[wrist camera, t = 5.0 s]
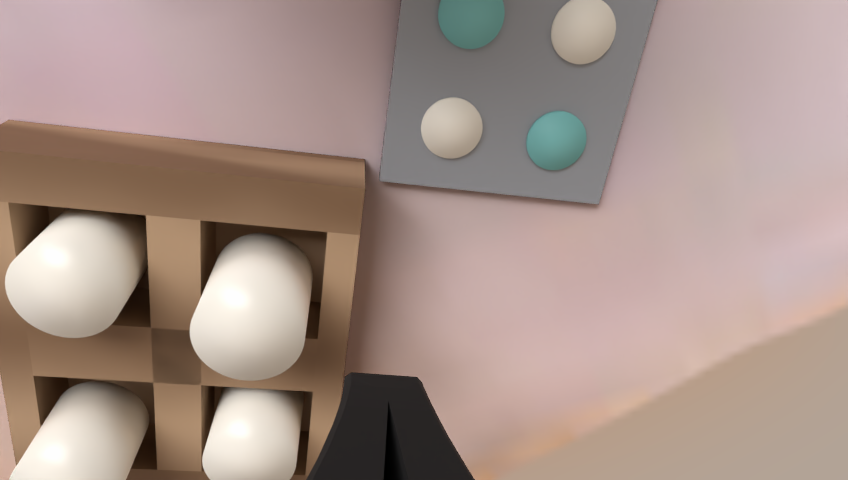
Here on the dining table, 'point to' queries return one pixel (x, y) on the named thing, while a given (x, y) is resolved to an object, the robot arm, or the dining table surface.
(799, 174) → the dining table surface
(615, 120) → the card
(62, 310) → the button near left
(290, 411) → the button far right
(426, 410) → the robot arm
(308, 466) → the board
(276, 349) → the button near right
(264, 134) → the dining table surface
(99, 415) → the button far left
